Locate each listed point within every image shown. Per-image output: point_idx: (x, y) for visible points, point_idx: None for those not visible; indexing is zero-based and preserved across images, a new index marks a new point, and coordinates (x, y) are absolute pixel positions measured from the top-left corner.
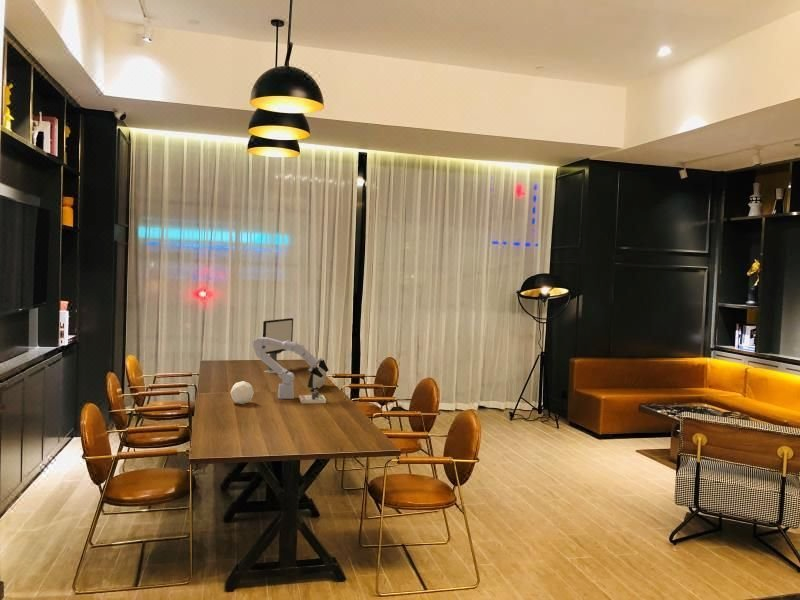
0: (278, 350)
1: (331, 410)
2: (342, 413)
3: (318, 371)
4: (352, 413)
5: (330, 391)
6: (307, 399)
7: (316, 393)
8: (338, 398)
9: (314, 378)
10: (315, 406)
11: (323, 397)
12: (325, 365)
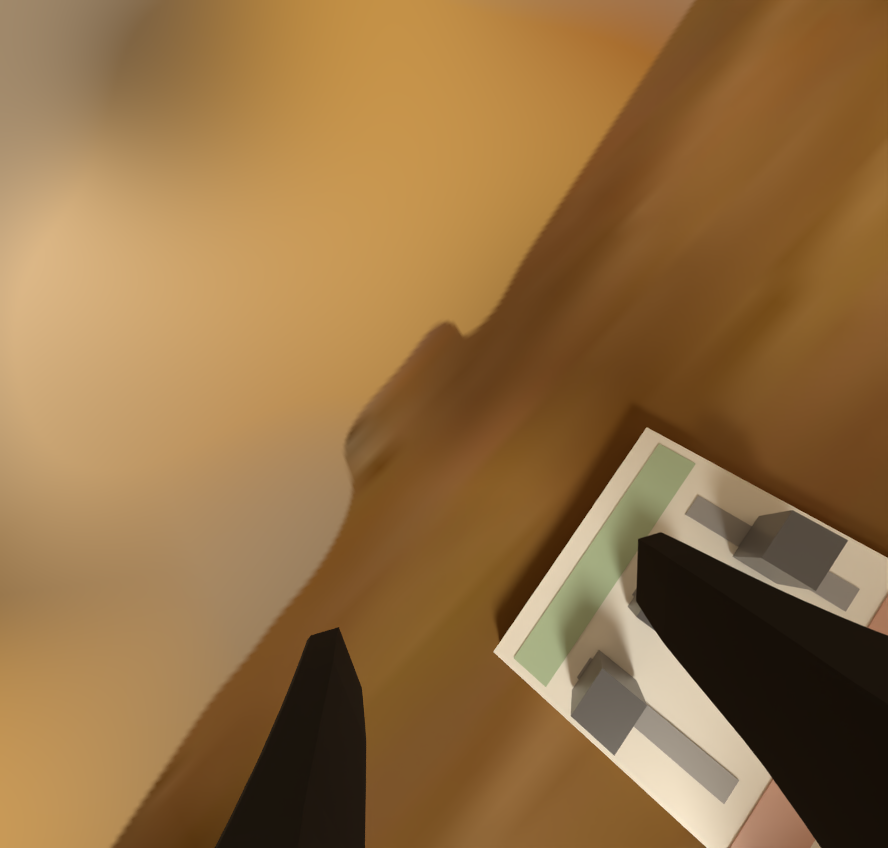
0: None
1: (807, 180)
2: (784, 72)
3: (883, 644)
4: (703, 56)
5: (201, 841)
6: (866, 584)
7: None
8: (392, 527)
9: None
10: (862, 377)
11: (583, 543)
12: (267, 836)
